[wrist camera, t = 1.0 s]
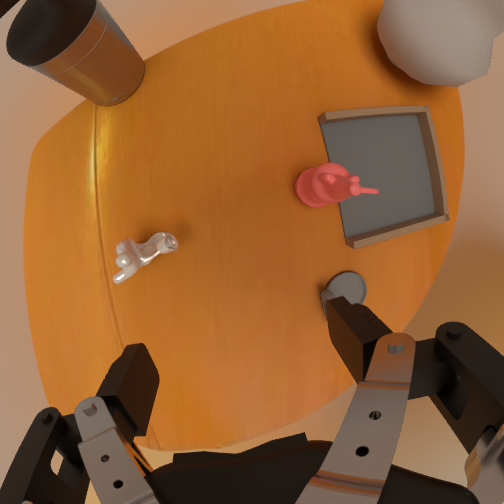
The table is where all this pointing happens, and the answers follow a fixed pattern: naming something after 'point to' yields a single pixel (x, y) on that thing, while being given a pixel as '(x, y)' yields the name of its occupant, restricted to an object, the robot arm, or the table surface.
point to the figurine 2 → (328, 185)
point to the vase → (441, 38)
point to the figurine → (141, 253)
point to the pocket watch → (345, 289)
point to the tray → (387, 170)
